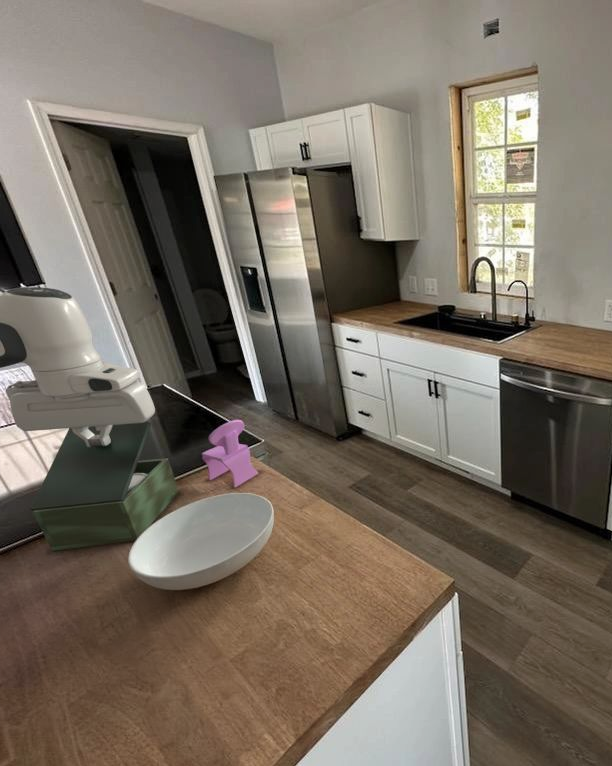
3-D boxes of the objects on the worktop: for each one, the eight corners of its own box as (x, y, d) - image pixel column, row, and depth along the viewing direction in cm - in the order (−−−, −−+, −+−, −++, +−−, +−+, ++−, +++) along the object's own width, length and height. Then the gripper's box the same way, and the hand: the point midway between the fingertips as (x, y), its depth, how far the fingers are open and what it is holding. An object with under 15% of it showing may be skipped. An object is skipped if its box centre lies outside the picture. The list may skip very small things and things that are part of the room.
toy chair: (235, 464, 104) (222, 410, 98) (262, 471, 101) (249, 416, 96) (203, 482, 96) (186, 425, 91) (230, 490, 94) (215, 432, 88)
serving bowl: (140, 552, 76) (128, 522, 73) (267, 506, 89) (260, 480, 86) (140, 633, 61) (125, 599, 59) (292, 565, 74) (285, 535, 71)
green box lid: (72, 429, 82) (69, 427, 81) (151, 423, 85) (149, 421, 84) (33, 510, 73) (29, 509, 72) (123, 501, 76) (121, 499, 75)
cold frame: (107, 499, 90) (93, 464, 87) (179, 491, 93) (168, 458, 90) (51, 551, 76) (32, 512, 73) (138, 540, 79) (123, 502, 76)
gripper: (-15, 388, 69) (19, 459, 75) (127, 381, 74) (150, 447, 79) (17, 375, 75) (47, 442, 80) (147, 369, 80) (168, 432, 85)
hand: (99, 444), depth 80 cm, fingers closed
